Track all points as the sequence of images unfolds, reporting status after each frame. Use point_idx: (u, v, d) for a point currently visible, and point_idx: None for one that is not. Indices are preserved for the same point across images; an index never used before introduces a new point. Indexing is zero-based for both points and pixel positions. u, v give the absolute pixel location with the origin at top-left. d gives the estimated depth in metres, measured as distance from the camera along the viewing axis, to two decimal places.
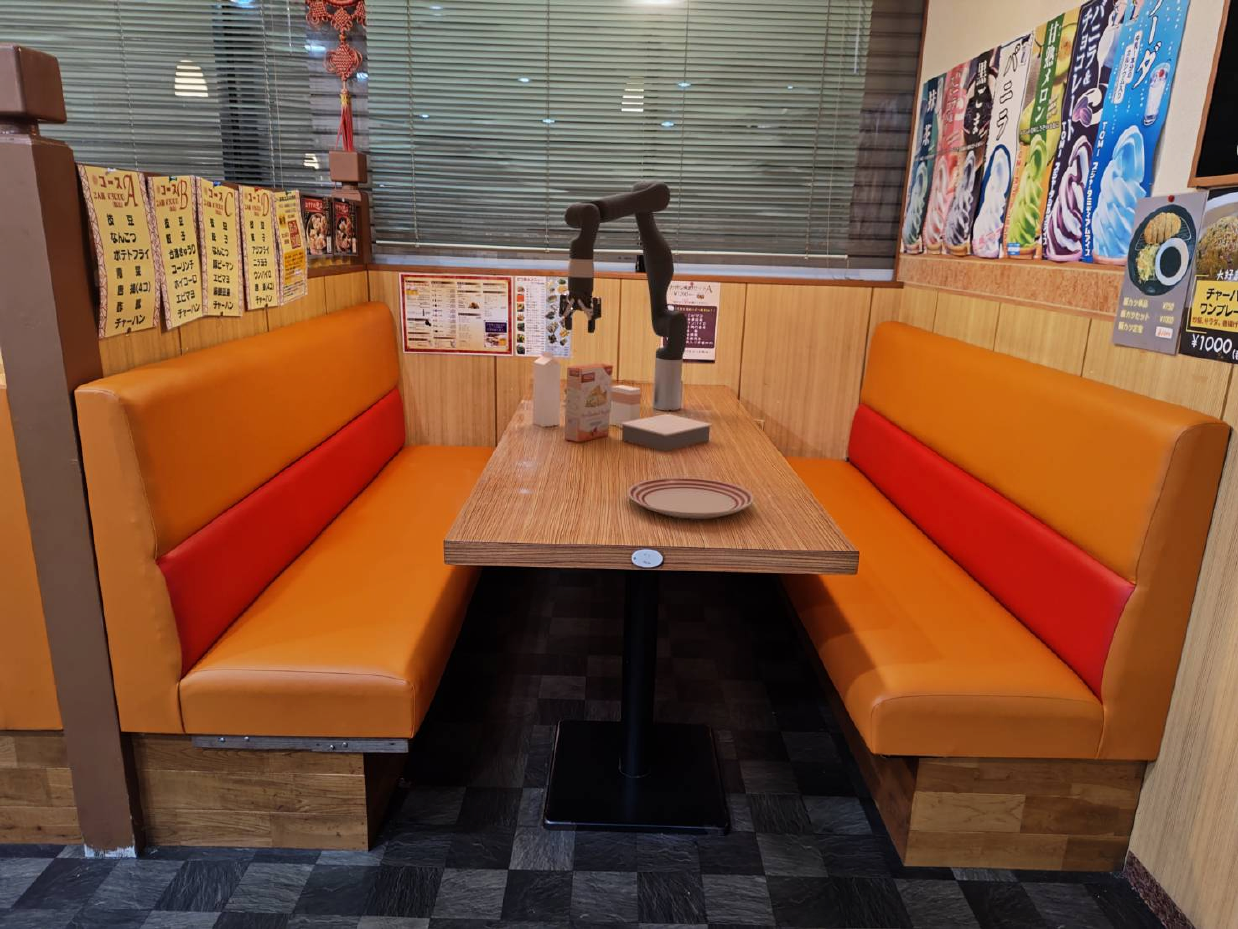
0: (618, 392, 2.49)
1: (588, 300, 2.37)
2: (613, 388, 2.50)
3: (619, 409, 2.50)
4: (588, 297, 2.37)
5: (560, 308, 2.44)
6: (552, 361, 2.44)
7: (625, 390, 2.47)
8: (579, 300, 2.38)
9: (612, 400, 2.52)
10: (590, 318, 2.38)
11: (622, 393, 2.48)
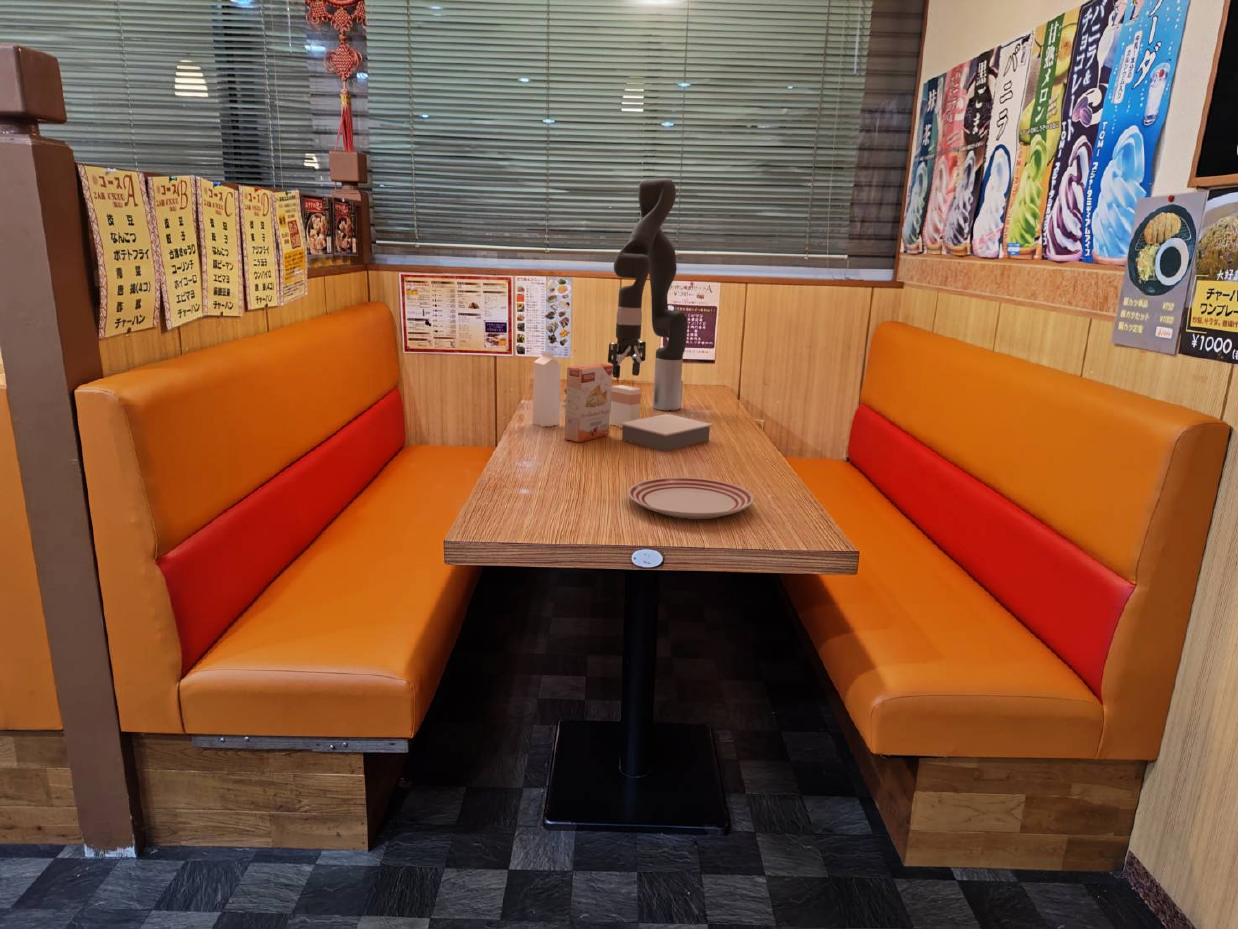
0: (618, 392, 2.49)
1: (638, 345, 2.49)
2: (613, 388, 2.50)
3: (619, 409, 2.50)
4: (638, 342, 2.48)
5: (614, 357, 2.42)
6: (552, 361, 2.44)
7: (625, 390, 2.47)
8: (635, 346, 2.46)
9: (612, 400, 2.52)
10: (640, 361, 2.51)
11: (622, 393, 2.48)
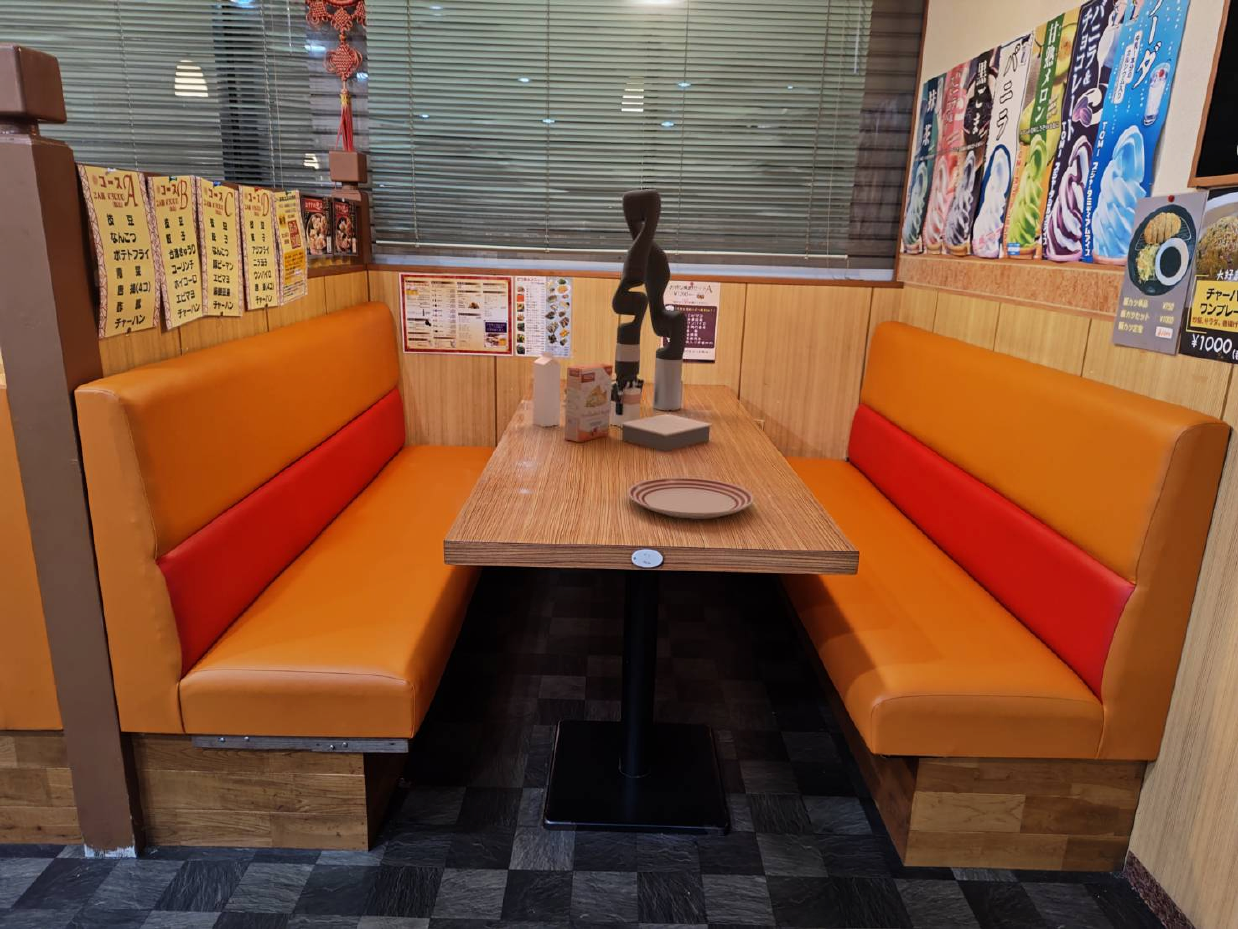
0: None
1: (636, 381, 2.51)
2: None
3: None
4: (637, 378, 2.51)
5: (616, 396, 2.46)
6: (552, 361, 2.44)
7: (625, 390, 2.47)
8: (634, 382, 2.49)
9: None
10: None
11: None
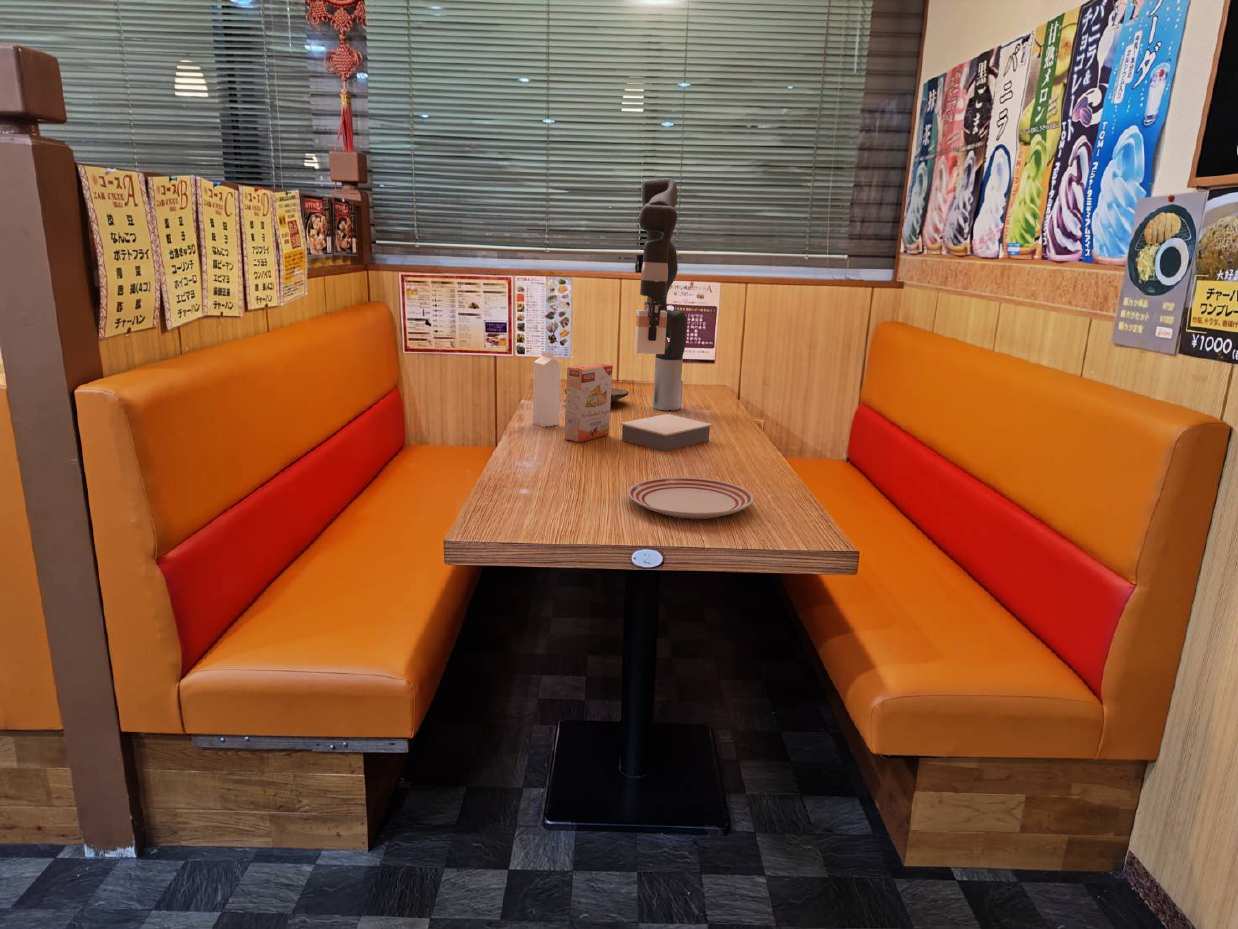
0: None
1: None
2: (642, 312, 2.32)
3: None
4: None
5: None
6: (552, 361, 2.44)
7: None
8: None
9: (640, 326, 2.33)
10: None
11: None
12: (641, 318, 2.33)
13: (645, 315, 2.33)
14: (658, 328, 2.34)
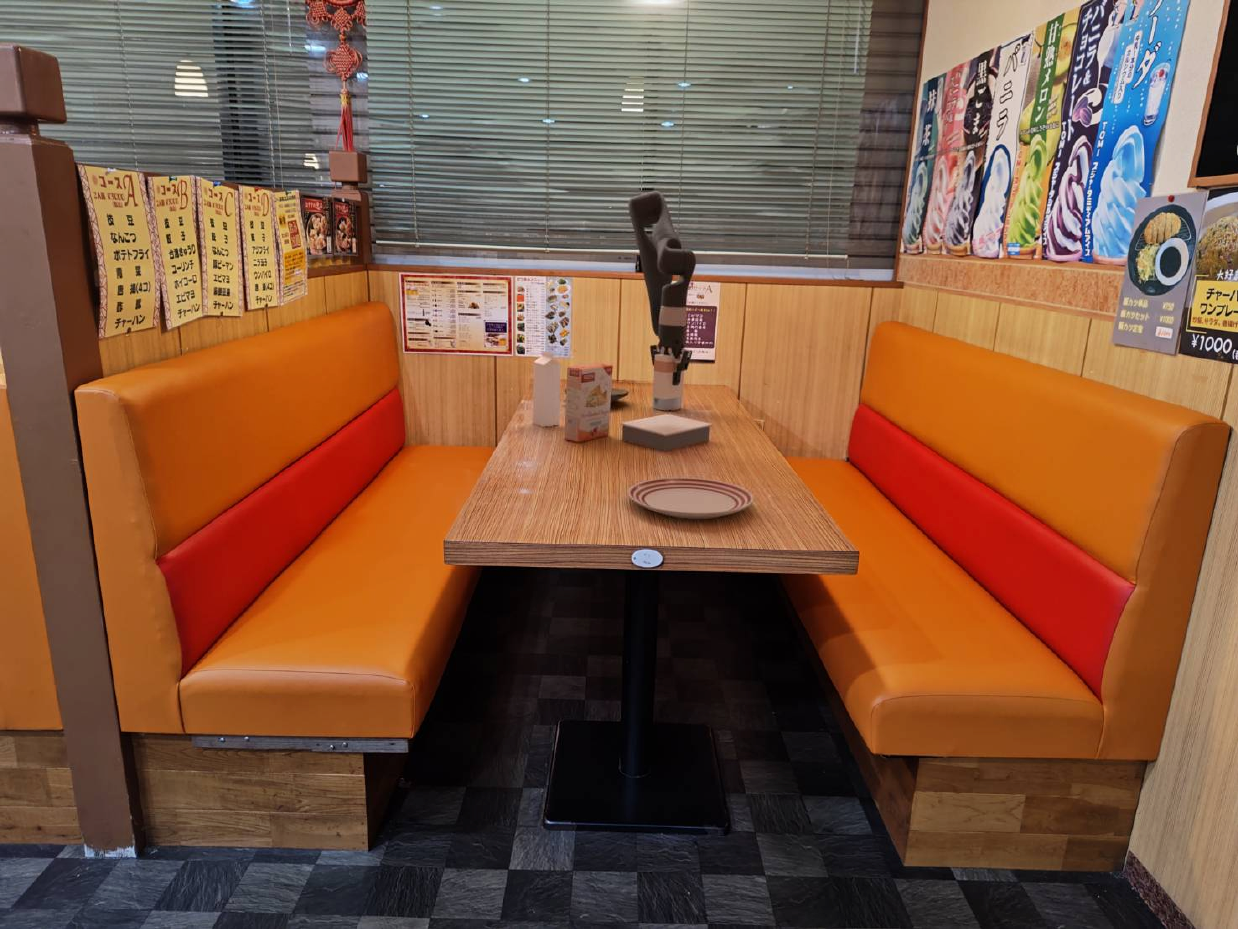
0: None
1: None
2: (669, 358, 2.27)
3: None
4: None
5: None
6: (552, 361, 2.44)
7: None
8: None
9: (667, 371, 2.28)
10: None
11: (677, 360, 2.30)
12: (668, 364, 2.27)
13: (671, 360, 2.28)
14: None
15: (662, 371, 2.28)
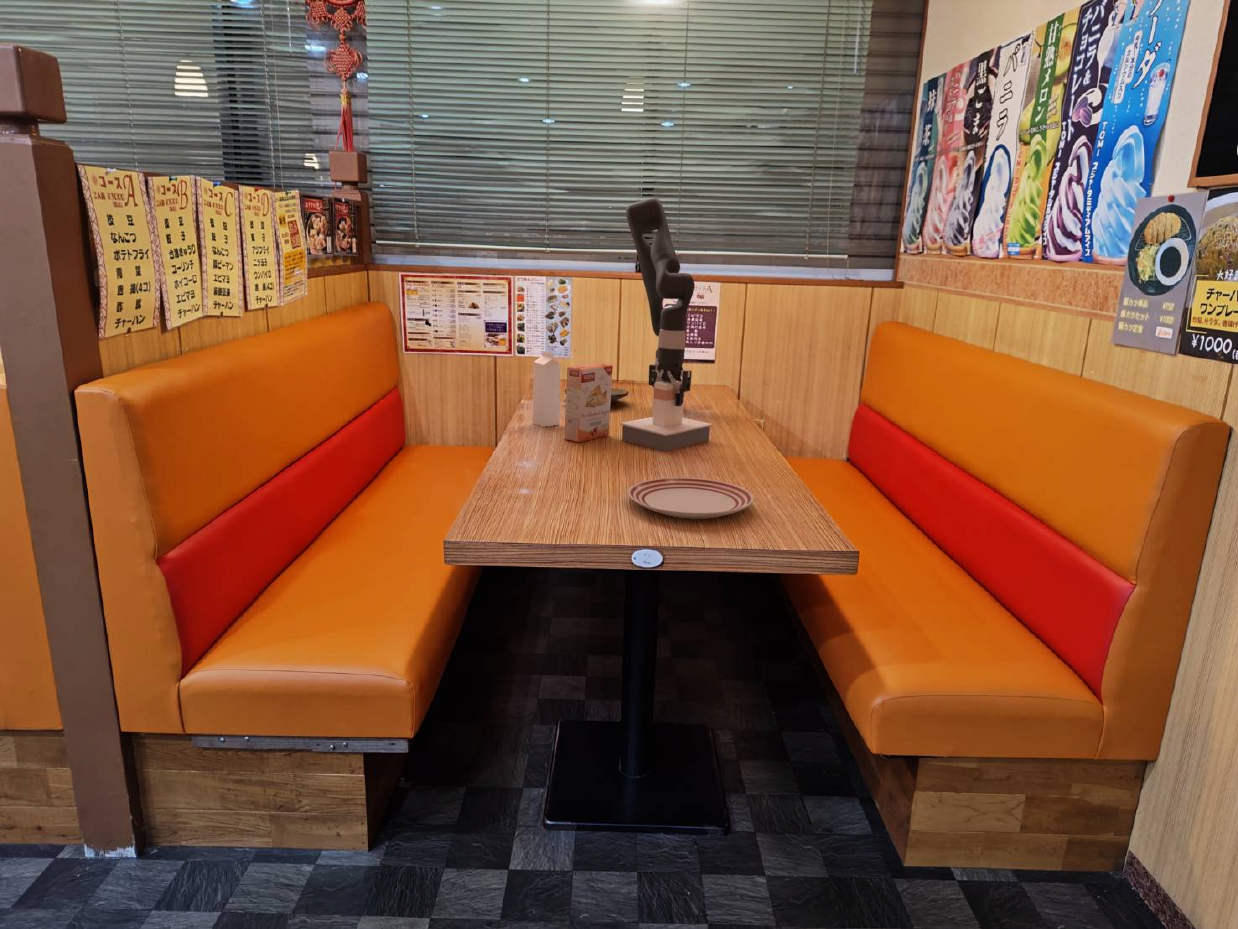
0: (673, 389, 2.31)
1: None
2: (668, 386, 2.29)
3: (673, 406, 2.33)
4: None
5: None
6: (552, 361, 2.44)
7: None
8: None
9: (667, 399, 2.30)
10: None
11: None
12: (668, 392, 2.29)
13: (670, 388, 2.30)
14: None
15: (662, 399, 2.30)
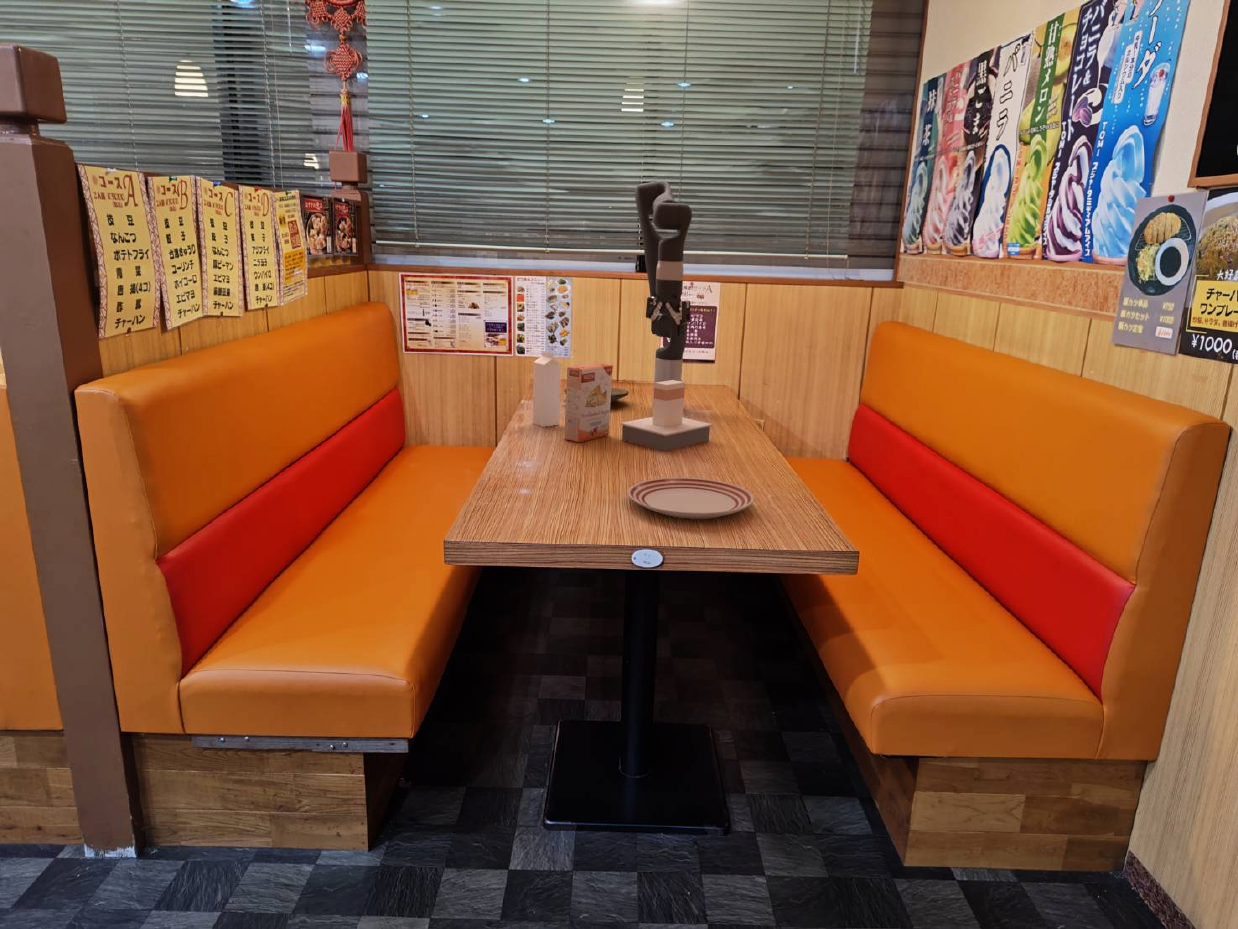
0: (673, 389, 2.31)
1: None
2: (668, 386, 2.29)
3: (673, 406, 2.33)
4: None
5: None
6: (552, 361, 2.44)
7: (680, 384, 2.32)
8: None
9: (667, 399, 2.30)
10: None
11: (677, 388, 2.32)
12: (668, 392, 2.29)
13: (670, 388, 2.30)
14: (679, 399, 2.33)
15: (662, 399, 2.30)
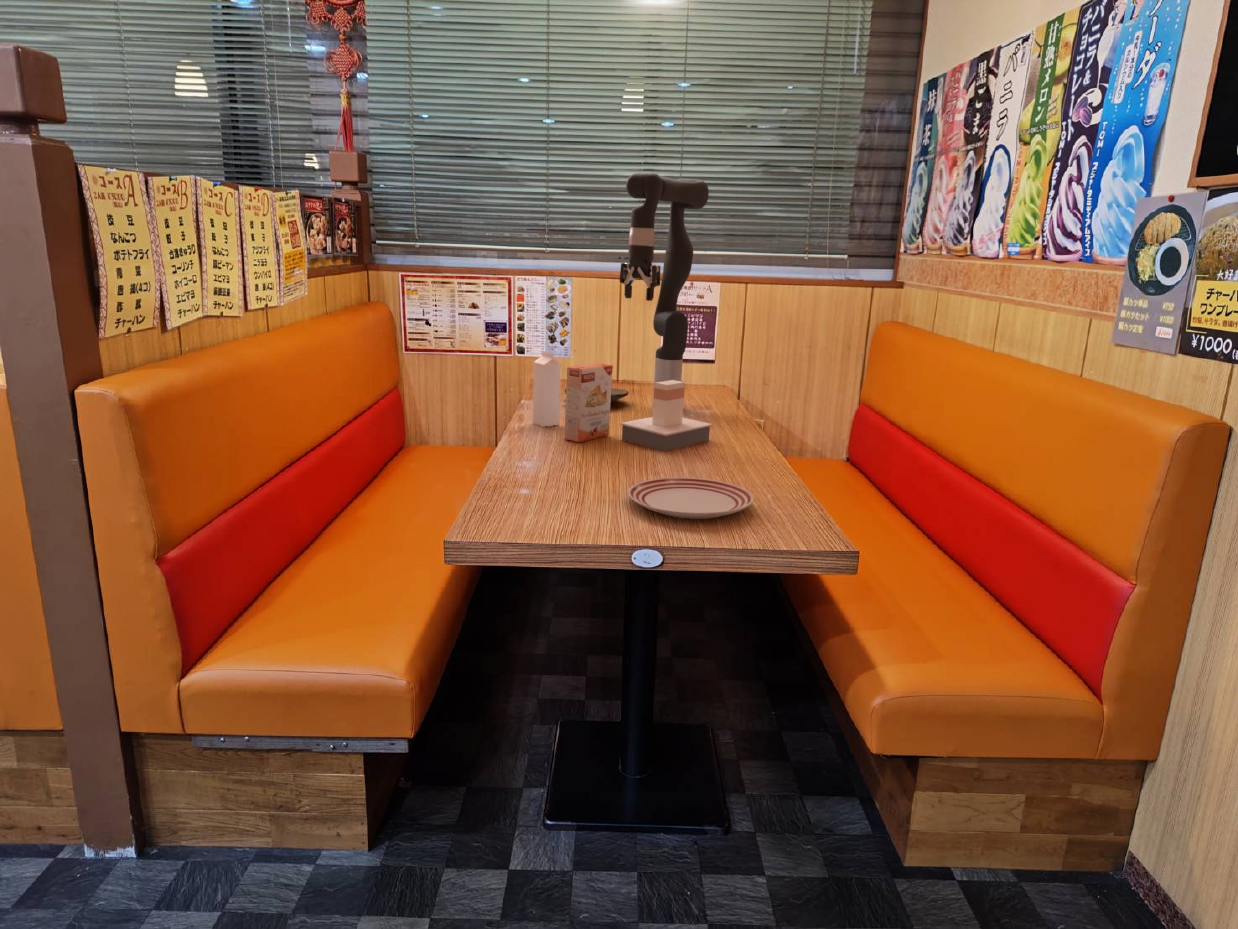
0: (673, 389, 2.31)
1: None
2: (668, 386, 2.29)
3: (673, 406, 2.33)
4: None
5: None
6: (552, 361, 2.44)
7: (680, 384, 2.32)
8: None
9: (667, 399, 2.30)
10: None
11: (677, 388, 2.32)
12: (668, 392, 2.29)
13: (670, 388, 2.30)
14: (679, 399, 2.33)
15: (662, 399, 2.30)
